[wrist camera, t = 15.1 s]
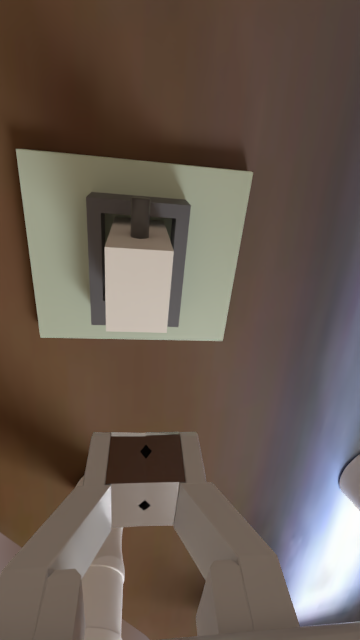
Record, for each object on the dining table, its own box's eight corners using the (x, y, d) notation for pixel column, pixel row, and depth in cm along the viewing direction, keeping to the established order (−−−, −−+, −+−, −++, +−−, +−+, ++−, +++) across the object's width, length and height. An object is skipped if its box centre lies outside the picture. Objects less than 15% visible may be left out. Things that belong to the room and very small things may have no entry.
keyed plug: (165, 189, 26) (177, 208, 18) (158, 293, 30) (165, 345, 22) (114, 185, 25) (103, 203, 17) (114, 291, 29) (106, 344, 21)
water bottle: (78, 461, 41) (12, 812, 20) (133, 467, 43) (127, 795, 21) (70, 495, 44) (3, 832, 23) (121, 500, 46) (105, 816, 24)
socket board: (247, 171, 27) (266, 175, 23) (219, 333, 34) (229, 357, 31) (22, 148, 24) (0, 149, 21) (44, 329, 32) (31, 355, 28)
